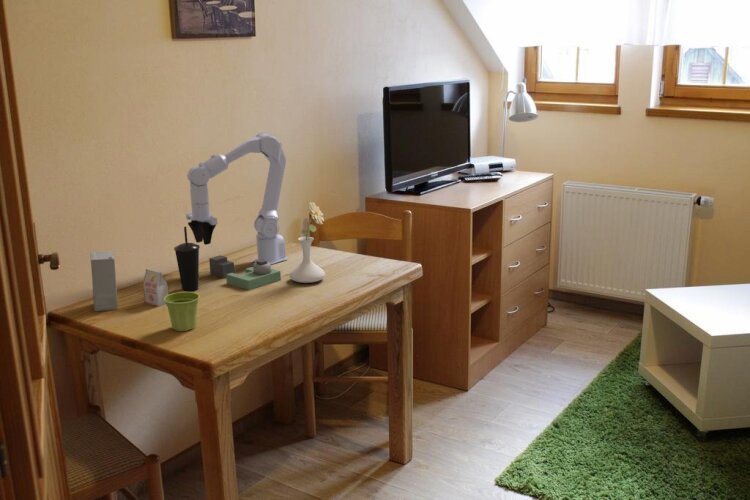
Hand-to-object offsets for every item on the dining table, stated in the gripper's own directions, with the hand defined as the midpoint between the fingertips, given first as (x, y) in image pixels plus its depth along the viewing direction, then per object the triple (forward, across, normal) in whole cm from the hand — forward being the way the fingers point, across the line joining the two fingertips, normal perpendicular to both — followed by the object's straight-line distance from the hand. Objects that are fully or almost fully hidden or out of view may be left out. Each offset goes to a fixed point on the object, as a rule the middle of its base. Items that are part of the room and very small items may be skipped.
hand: (203, 243), depth 259 cm
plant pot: (+10, +41, -37) cm, 56 cm away
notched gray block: (+9, +9, 0) cm, 13 cm away
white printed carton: (+10, +17, -30) cm, 36 cm away
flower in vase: (+10, +36, +14) cm, 40 cm away
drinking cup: (+10, +14, -16) cm, 23 cm away
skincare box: (+10, +8, -41) cm, 43 cm away
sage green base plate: (+9, +24, +2) cm, 25 cm away
